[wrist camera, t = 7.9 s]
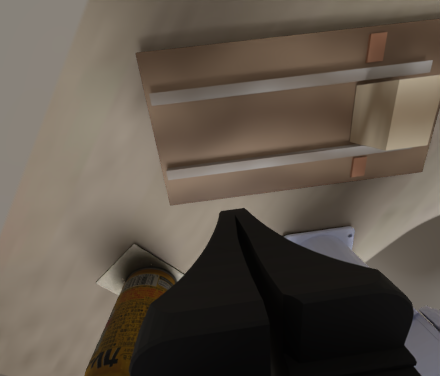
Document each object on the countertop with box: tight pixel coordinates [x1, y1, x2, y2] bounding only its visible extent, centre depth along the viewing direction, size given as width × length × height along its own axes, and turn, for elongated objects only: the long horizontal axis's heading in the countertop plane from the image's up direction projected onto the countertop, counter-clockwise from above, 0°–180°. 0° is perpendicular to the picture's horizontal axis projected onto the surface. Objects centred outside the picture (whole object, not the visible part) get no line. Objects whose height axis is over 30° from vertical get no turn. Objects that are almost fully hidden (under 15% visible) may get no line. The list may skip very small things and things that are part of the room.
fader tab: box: [350, 75, 440, 151], centre depth 15 cm, size 4×3×4 cm
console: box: [136, 19, 440, 205], centre depth 17 cm, size 12×24×2 cm, turn 96°
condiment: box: [85, 244, 184, 376], centre depth 18 cm, size 7×8×12 cm
